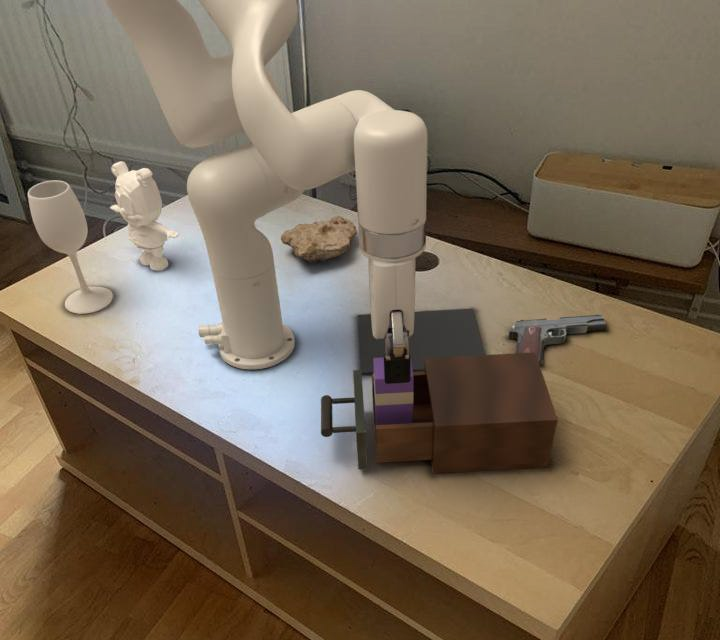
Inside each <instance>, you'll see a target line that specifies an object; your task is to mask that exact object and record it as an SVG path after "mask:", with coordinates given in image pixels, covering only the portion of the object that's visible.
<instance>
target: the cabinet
mask: <svg viewBox="0 0 720 640" xmlns="http://www.w3.org/2000/svg"><path fill="white" fill-rule="evenodd" d="M424 371H426V378H427V384H428V390H429V397H430V403H431V410H432V416H433V423H434V441H433V459H431V460H430V463H431V470H432V471H431V472H432V474H447V473H448V474H449V473H465V472H466V473H467V472H485V471H486V472H487V471H503V470H522V469H523V470H525V469H540V468H548V467H549V463H550V459H551V458H550V457H551V453H552V448H553V444H554V438H555V435H556V429H557V425H558V421H559V419H558V417H557V412H556V411H555V408H554V404H553V401H552V398H551V395H550V392H549V389H548V386H547V383H546V380H545V378H544V374H543V370H542V368H541V364H539V362H538V359H537V356H536V353H535V352H532V353H516V352H514V353H498V354H497V353H495V354H484V355H477V356H459V357H440V358H425V359H424Z"/></svg>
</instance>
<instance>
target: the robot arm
mask: <svg viewBox="0 0 720 640" xmlns="http://www.w3.org/2000/svg"><path fill="white" fill-rule="evenodd" d="M198 1H199V3H200V4H201V6H202V7H203V9H204V10H205V12H206V13H207V15H208V16H209V18H210V19H211V20H212V22H213V23H214V24H215V25H216V27H217V29H218V30H219V32H220V33H221V35H222V36H223V37H224V38H225V40H226V41H227V43H228V45H230V47H231V49H232V52H229V53H227V54H222V55H220V56H217V57H212V55H211V54H210V52H209V50H208V48H207V46H206V44H205V42H204V39H203V36H202V33H201V30H200V28H199V26H198V24H197V22H196V19H194V17H193V15H191V13H190V12H189V10H187V8H186V7H184V5H183V4H181V2H180V1H178V0H104V2H105V3H106V5H107V6H108V7H109V9H110V11H111V13H113V15H114V16H115V17H114V18H116V19H117V21H118V23H119V24H120V25H121V27H122V28H123V30H124V31H125V33H126V34H127V36H128V38H129V39H130V41H131V42H132V45H133V47H134V49H135V51H136V52H137V55H138V58H139V60H140V62H141V65H142V67H143V69H144V72H145V74H146V77H147V79H148V81H149V84H150V86H151V88H152V90H153V93H154V95H155V97H156V99H157V102H158V104H159V106H160V109H161V110H162V113H163V115H164V118H165V120H166V121H167V124H168V126H169V128H170V130H171V132H172V134H173V136H174V137H175V138H176V140H177V142H179V143H180V144H181V145H183V146H184V147H186V148H189V149H199V148H204V147H207V146H210V145H214V144H216V143H220V142H222V141H225V140H227V139H230V138H232V137H234V136H235V137H236V136H237V135H240V134H243V133H244V134H245V135H246V137H247V139H248V142H245V143H243V144H240V145H238V146H234V147H232V148H230V149H227V150H224V151H221V152H219V153H217V154H214V155H212V156H210V157H208V158H206V159H204V160H203V161H200V162H199V163H198V164H197V165H195V166H194V167H193V169H192V170H191V171H190V173H189V174H188V177H187V181H186V192H187V197H188V200H189V203H190V206H191V208H192V210H193V214H194V215H195V218H196V220H197V222H198V226H199V227H200V230H201V233H202V237H203V240H204V244H205V247H206V250H207V252H206V253H207V255H208V260H209V265H210V270H211V275H212V277H213V283H214V287H215V292H216V297H217V301H218V307H219V311H220V315H221V316H220V317H221V321H222V322H217V324H212V325H211V324H205V325H203V324H202V325H198V326H197V327H198V328H197V329H198V337H200V338H203V339H204V340H203V341H204V343H205V344H204V345H214V344H218V351H219V352H218V353H219V355H220V357H221V359H222V360H223V361H224V362H225V363H226V364H228V365H230V366H231V367H234V368H238V369H241V370H250V371H251V370H262V369H267V368H270V367H274V366H276V365H278V364H280V363H283V361H285V360H286V359H287V358H288V357H290V355H291V354H292V353H293V351H294V349H295V346H296V341H295V335H294V333H293V331H292V330H291V328H290V327H288V326H287V325H286V324H284V323H283V317H282V310H281V309H282V308H281V301H280V295H279V288H278V287H279V286H278V280H277V274H276V267H275V266H276V265H275V260H274V258H275V257H274V252H273V248H272V245H271V244H272V243H271V242H270V240H269V238H268V237H267V236H266V235H265V234H264V233H263V232H262V231H260V230H259V229H258V228H256V226H255V222H256V221H257V220H258V219H259V218H262V217H264V216H265V215H267V214H269V213H271V212H273V211H276V210H278V209H279V208H283V207H284V206H286V205H288V204H291V203H292V202H294V201H296V200H297V199H298V198H300V196H302V195H303V194H304V192H305V191H310V190H312V189H313V190H314V189H316V188H318V187H320V186H323V185H325V184H327V183H330V182H332V181H334V180H335V179H338V178H339V177H342V176H343V175H346V174H349V173H353V172H355V186H356V187H355V188H356V208H357V209H356V210H357V224H358V226H357V227H358V242H359V243H358V244H359V245H358V246H359V251H360V253H361V254H362V255H363V256H364V257H366V258H367V259H368V288H369V289H368V290H369V305H370V306H369V307H370V308H369V309H370V314H371V321H372V332H373V336H374V337H375V338H376V339H383V338H385V348H386V355H384V379H385V383H386V384H393V383H408V382H410V380H411V356H410V354H409V344H408V337H410V336H411V335H412V334H413V331H414V313H415V312H416V311H415V310H416V258H417V257H419V256H421V255H422V254H423V253H424V251H425V250H426V248H427V190H428V187H427V186H428V185H427V182H428V181H427V180H428V130H427V126H426V124H425V123H426V122H424V120H423V119H422V118H421V117H420V116H419V115H418V114H416V113H414V112H410V111H408V110H407V111H406V110H401V109H395V108H393V107H392V106H390V105H389V104H387V103H386V102H384V101H383V100H382V99H380V98H379V97H378V96H376V95H375V94H373V93H371V92H369V91H366V90H361V89H357V90H356V89H355V90H350V91H346V92H344V93H341V94H338V95H336V96H334V97H331V98H329V99H324V100H322V101H319V102H316V103H314V104H310V105H308V106H305V107H303V108H301V109H299V110H296V111H293V112H290V110H288V108H287V107H286V106H285V103H284V101H283V98H282V95H281V92H280V90H279V88H278V85H277V83H276V81H275V79H274V76H273V75H272V72H271V71H270V69H269V68H268V66H266V65H267V64H268V63H269V62H271V60H272V59H273V58H274V56H275V55H276V54H278V52H279V51H280V50H281V49H282V47H283V46H284V45H285V44H286V42H287V41H288V39H289V38H290V36H291V35H292V32H293V30H294V28H295V27H296V23H297V20H298V13H299V7H298V3H297V0H198ZM390 339H393V347H391V349H390Z"/></svg>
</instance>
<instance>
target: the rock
mask: <svg viewBox="0 0 720 640" xmlns="http://www.w3.org/2000/svg"><path fill="white" fill-rule="evenodd" d="M356 235H358V230H357V227H356V225H355V224H354V222H353V221H352V220H350V219H348V218H344V217H343V216H340V215H337V216H334V217H331V219H330V220H328V221H325V220H320V221H314V222H313V223H299V224H297V225H295V226H294V228H292V229H287V230H285V231H284V232H283V233H282V234H281V236H280V241H281V242H282V245H286V246H288V247H290V248H291V249H292V252H293V254H294V255H295V257H297V258H300V259H303V260H305V261H307V262H308V263H311V264H313V263H315V262H317V261H319V260H321V261H323V262H324V261H327V260H329V259H330V258H331V259H333V258H335V257H338V256H341V255H342V254H343V253H345V252H346V251H348V250H350V248H351V243H350V241H351V240H352V238H353V237H355V236H356Z"/></svg>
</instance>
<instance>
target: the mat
mask: <svg viewBox="0 0 720 640" xmlns="http://www.w3.org/2000/svg"><path fill="white" fill-rule="evenodd" d="M357 331H358V349H359V366H360V369H359V370H362V376H372V374H374V366H373V358H384V355H386V348H385V338H383V339H376V338H375V337H374V336H373V332H372V321H371V313H367V314H364V313H363V314H357ZM408 344H409V354H410V356H411V362H412V370H413V372H421V371H424V359H425V358H440V357H459V356H477V355H485V351H484V348H483V344H482V340H481V336H480V331H479V328H478V324H477V320H476V315H475V312H474V309H473V308H457V309H438V310H419V311H415V313H414V331H413V334H412V335H411V336H410V337H408ZM391 347H393V339H390V349H391Z"/></svg>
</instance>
